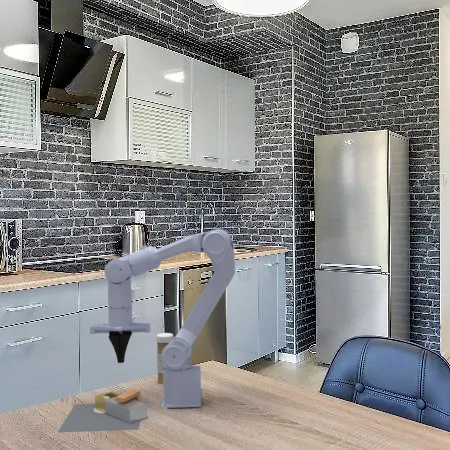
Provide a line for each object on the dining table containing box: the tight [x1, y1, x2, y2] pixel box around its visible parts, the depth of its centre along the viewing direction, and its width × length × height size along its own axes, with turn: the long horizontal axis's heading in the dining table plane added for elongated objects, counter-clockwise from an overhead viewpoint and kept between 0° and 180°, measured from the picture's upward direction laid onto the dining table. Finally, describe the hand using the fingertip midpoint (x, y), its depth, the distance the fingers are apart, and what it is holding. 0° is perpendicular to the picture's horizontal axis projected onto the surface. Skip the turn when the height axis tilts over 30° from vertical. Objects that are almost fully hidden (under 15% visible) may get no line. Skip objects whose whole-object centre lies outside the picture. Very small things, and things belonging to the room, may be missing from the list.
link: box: [94, 391, 148, 423], centre depth 128 cm, size 13×5×3 cm, turn 47°
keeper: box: [115, 389, 141, 402], centre depth 128 cm, size 6×2×5 cm, turn 153°
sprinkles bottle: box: [156, 332, 174, 385], centre depth 151 cm, size 5×5×13 cm
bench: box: [57, 396, 147, 433], centre depth 126 cm, size 17×17×3 cm
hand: (121, 361), depth 137 cm, fingers closed
